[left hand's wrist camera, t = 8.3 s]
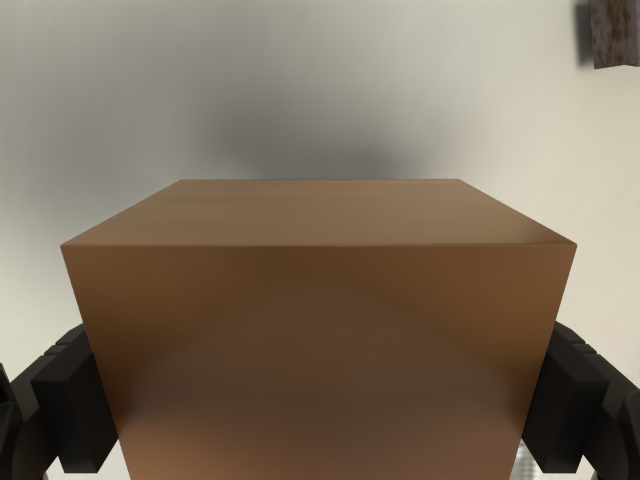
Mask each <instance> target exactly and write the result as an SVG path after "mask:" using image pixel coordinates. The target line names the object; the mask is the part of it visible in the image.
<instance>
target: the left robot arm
mask: <svg viewBox="0 0 640 480" xmlns="http://www.w3.org/2000/svg"><path fill="white" fill-rule="evenodd" d="M521 438H522V439H523V441H524V443H525V444H526V446H527V448H528V449H529V451H530V453H531V454H532V456H533V457H534V459H535V461H536V462H537V464H538V466H539V467H540V469H541V471H542V472H543V473H576V471H577V469H578V466H579V463H580V461H581V458H582V456H583V455H584V456H585V458H586V459H587V460H588V462H589V463H590V464H591V465H592V467H593V468H594V469H595V471H594V473H593V476H592V478H591V480H640V389H639V388H638V387H636V386H635V385H634V384H633V383H632V382H631V381H630V380H628V379H627V378H626V377H625V376H624V375H623V374H622V373H620V372H619V371H618V370H617V369H616V368H615V367H614V366H613V365H611V364H610V363H609V362H608V361H607V360H606V359H605V358H603V357H602V356H601V355H600V354H597V351H595V350H594V349H593V348H592V347H591V346H590V345H589V344H586V343H585V341H584V340H583V339H582V338H581V337H580V336H578V335H577V334H576V333H575V332H574V331H573V330H571V329H570V328H568V327H566V326H564V325H562V324H561V323H559V322H557V321H555V324H554V327H553V331H552V334H551V338H550V341H549V344H548V348H547V351H546V355H545V358H544V361H543V365H542V368H541V372H540V375H539V379H538V382H537V385H536V389H535V392H534V396H533V399H532V403H531V406H530V409H529V413H528V416H527V420H526V423H525V427H524V430H523V433H522V437H521ZM117 440H118V434H117V431H116V428H115V424H114V421H113V418H112V414H111V411H110V408H109V404H108V401H107V398H106V394H105V391H104V388H103V384H102V381H101V378H100V374H99V371H98V367H97V364H96V361H95V357H94V354H93V352H92V350H91V347H90V344H89V340H88V337H87V334H86V330H85V327H84V324H83V323H82V324H80V325H79V326H77V327H75V328H73V329H71V330H70V331H68V332H67V333H66V334H65V335H64V336H63V337H61V338H60V339H59V340H58V341H57V342H56V344H55V345H52V346H51V347H50V348H49V349H48V350H47V351H46V352H45V353H44V355H43V356H40V357H39V358H38V359H37V360H35V361H34V362H33V363H32V364H31V365H30V366H29V367H28V368H26V369H25V370H24V371H23V372H22V373H21V374H20V375H19V376H17V377H16V378H15V379H14V380H13V381H12V382H11V383H10V382H9V380H8V377H7V375H6V372H5V370H4V367H3V365H2V363H0V480H48V476H47V473H46V471H47V469H48V468H49V467H50V465H51V464H52V463H53V461H54V460H55V459H56V457H57V456H58V457H59V460H60V462H61V465H62V468H63V470H64V473H98V471H99V469H100V468H101V466H102V465H103V463H104V461H105V460H106V458H107V456H108V455H109V453H110V451H111V450H112V448H113V447H114V445H115V443H116V442H117Z"/></svg>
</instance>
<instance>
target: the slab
mask: <svg viewBox="0 0 640 480" xmlns="http://www.w3.org/2000/svg"><path fill="white" fill-rule="evenodd" d="M60 248H61V251H62V255H63V258H64V261H65V264H66V268H67V271H68V274H69V278H70V281H71V284H72V288H73V291H74V294H75V297H76V301H77V304H78V307H79V311H80V314H81V317H82V320H83V324H84V327H85V330H86V334H87V337H88V340H89V344H90V347H91V350H92V352H93V354H94V357H95V361H96V364H97V367H98V371H99V374H100V378H101V381H102V384H103V388H104V391H105V394H106V398H107V401H108V404H109V408H110V411H111V414H112V418H113V421H114V424H115V428H116V431H117V434H118V439H119V442H120V446H121V449H122V452H123V455H124V459H125V462H126V465H127V469H128V472H129V475H130V479H131V480H509V478H510V475H511V471H512V468H513V464H514V461H515V457H516V454H517V451H518V447H519V444H520V440H521V437H522V433H523V430H524V427H525V423H526V420H527V416H528V413H529V409H530V406H531V403H532V399H533V396H534V392H535V389H536V385H537V382H538V379H539V375H540V372H541V368H542V365H543V361H544V358H545V355H546V351H547V348H548V344H549V341H550V338H551V334H552V331H553V327H554V324H555V320H556V317H557V314H558V310H559V307H560V303H561V300H562V296H563V293H564V290H565V286H566V283H567V279H568V276H569V272H570V269H571V266H572V262H573V259H574V255H575V252H576V248H577V244H576V243H574V242H573V241H571V240H569V239H567V238H565V237H563V236H562V235H560V234H558V233H556V232H554V231H553V230H551V229H549V228H547V227H545V226H543V225H542V224H540V223H538V222H536V221H534V220H532V219H531V218H529V217H527V216H525V215H523V214H522V213H520V212H518V211H516V210H514V209H512V208H511V207H509V206H507V205H505V204H503V203H501V202H500V201H498V200H496V199H494V198H492V197H491V196H489V195H487V194H485V193H483V192H481V191H480V190H478V189H476V188H474V187H472V186H471V185H469V184H467V183H465V182H463V181H461V180H460V179H286V180H180V181H178V182H176V183H174V184H172V185H170V186H169V187H167V188H165V189H163V190H161V191H159V192H157V193H156V194H154V195H152V196H150V197H148V198H146V199H145V200H143V201H141V202H139V203H137V204H135V205H134V206H132V207H130V208H128V209H126V210H124V211H122V212H121V213H119V214H117V215H115V216H113V217H111V218H110V219H108V220H106V221H104V222H102V223H100V224H99V225H97V226H95V227H93V228H91V229H89V230H88V231H86V232H84V233H82V234H80V235H78V236H76V237H75V238H73V239H71V240H69V241H67V242H65V243H64V244H62V245H61V246H60Z"/></svg>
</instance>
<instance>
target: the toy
mask: <svg viewBox="0 0 640 480" xmlns="http://www.w3.org/2000/svg"><path fill="white" fill-rule="evenodd" d="M589 1H590V15H591V29H592V43H593V56H594V69H600V68H607V67H613V66H620V65H629V66H636V67H639V66H640V0H589Z"/></svg>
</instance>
